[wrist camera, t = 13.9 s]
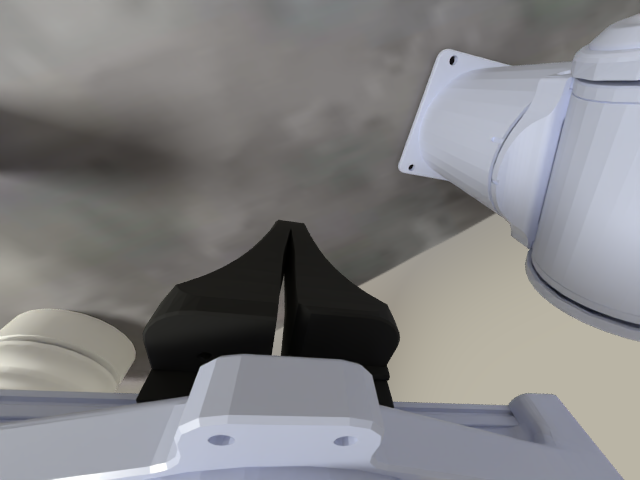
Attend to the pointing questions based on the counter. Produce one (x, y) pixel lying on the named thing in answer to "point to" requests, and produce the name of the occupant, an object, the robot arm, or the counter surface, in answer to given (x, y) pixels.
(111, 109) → the counter surface
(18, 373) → the honey pot
